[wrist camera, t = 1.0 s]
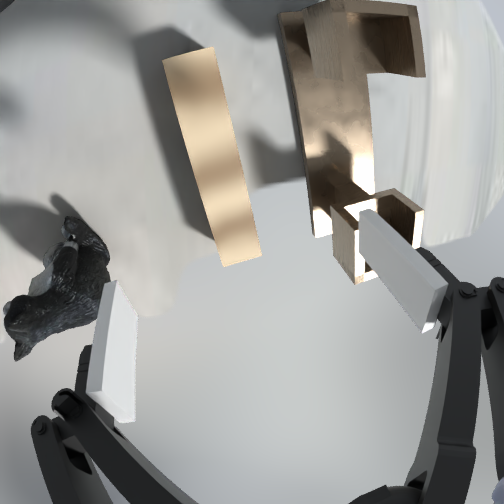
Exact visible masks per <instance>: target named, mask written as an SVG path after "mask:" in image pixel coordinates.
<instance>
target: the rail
mask: <svg viewBox="0 0 504 504" xmlns="http://www.w3.org/2000/svg"><path fill="white" fill-rule="evenodd" d="M162 62H163V66H164V70H165V74H166V77H167V81H168V85H169V88H170V92H171V96H172V99H173V103H174V106H175V110H176V114H177V117H178V121H179V124H180V128H181V131H182V135H183V138H184V141H185V145H186V148H187V152H188V155H189V158H190V162H191V165H192V169H193V172H194V175H195V179H196V182H197V185H198V188H199V192H200V195H201V198H202V201H203V205H204V208H205V211H206V214H207V218H208V221H209V224H210V227H211V230H212V233H213V237H214V240H215V243H216V246H217V249H218V252H219V255H220V258H221V261H222V265H223V267H226V266H229V265H232V264H235V263H239V262H242V261H246V260H249V259H252V258H256V257H259V256H262V253H261V248H260V244H259V239H258V236H257V231H256V227H255V222H254V217H253V213H252V209H251V204H250V200H249V196H248V191H247V187H246V182H245V178H244V174H243V170H242V165H241V161H240V157H239V152H238V148H237V144H236V139H235V135H234V131H233V127H232V122H231V118H230V114H229V110H228V105H227V101H226V97H225V93H224V89H223V84H222V80H221V76H220V72H219V68H218V64H217V59H216V55H215V51H214V47H209V48H205V49H200V50H196V51H192V52H189V53H185V54H181V55H178V56H174V57H171V58H167V59H164V60H162Z"/></svg>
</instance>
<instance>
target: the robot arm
mask: <svg viewBox="0 0 504 504" xmlns="http://www.w3.org/2000/svg"><path fill="white" fill-rule="evenodd" d="M13 1H14V0H0V12H1V11H2V10H4V9H5V8H6V7H7V6H9V5H10V4H11V3H12V2H13ZM358 252H359V254H360V255H361V256H362V257H363V258H364V260H365V261H366V262H367V263H368V265H369V266H370V267H371V268H372V269H373V271H374V272H375V273H376V274H377V276H378V277H379V278H380V279H381V281H382V282H383V283H384V284H385V286H386V287H387V288H388V289H389V291H390V292H391V293H392V295H393V296H394V297H395V299H396V300H397V301H398V302H399V304H400V305H401V306H402V308H403V309H404V310H405V312H406V313H407V314H408V316H409V317H410V318H411V320H412V321H413V322H414V324H415V325H416V326H417V328H418V329H419V331H420V332H421V333H424V332H426V331H428V330H430V329H431V328H434V326H435V323H436V321H437V319H438V320H439V321H440V323H441V327H440V329H439V332H438V334H437V337H436V339H438V338H439V342H438V351H437V359H436V366H435V373H434V379H433V385H432V390H431V396H430V401H429V406H428V411H427V415H426V420H425V424H424V428H423V432H422V436H421V440H420V444H419V447H418V451H417V455H416V458H415V461H414V463H413V465H412V467H411V469H410V471H409V473H408V476H407V478H406V481H405V484H404V486H393V487H387V486H386V485H384V486H382V487H380V488H377V489H375V490H373V491H371V492H368V493H366V494H364V495H361V496H359V497H358V498H356V499H355V500H353V501H352V502H350V503H349V504H464V503H465V500H466V496H467V493H468V489H469V485H470V481H471V477H472V473H473V468H474V464H475V459H476V448H475V447H474V446H473V436H474V430H475V423H476V416H477V408H478V398H479V386H480V371H481V369H480V368H481V353H482V357H483V362H484V367H485V372H486V378H487V384H488V390H489V396H490V404H491V411H492V420H493V430H494V444H495V460H496V469H497V476H498V480H499V482H498V484H497V485H496V488H495V490H494V491H493V493H492V499H493V500H494V504H504V278H501V277H496V278H493V279H492V280H491V283H490V286H488V287H481V288H476V287H475V286H474V285H472V284H471V283H468V282H460V281H459V280H458V279H456V277H455V276H454V275H453V274H452V273H451V272H450V271H449V270H448V269H447V268H446V267H445V266H444V265H443V264H441V262H440V261H439V260H438V259H436V257H435V256H434V255H433V254H432V253H431V252H430V251H428V250H426V249H424V248H422V247H419V248H416V249H414V248H413V247H412V246H411V245H410V244H409V243H408V242H407V241H406V240H405V239H404V238H403V237H402V236H401V235H400V234H399V233H398V232H397V231H395V230H394V229H393V228H392V227H391V226H390V225H389V224H388V223H387V222H386V221H385V220H384V219H382V218H381V217H380V216H379V215H378V214H377V213H376V212H375V211H374V210H372V209H371V208H368V209H364V210H360V211H359V233H358ZM137 325H138V315H137V313H136V312H135V310H134V308H133V307H132V305H131V303H130V302H129V300H128V298H127V297H126V295H125V293H124V291H123V290H122V288H121V286H120V284H119V283H118V281H117V280H115V281H112V282H108V283H105V284H104V288H103V293H102V297H101V302H100V307H99V312H98V317H97V322H96V327H95V332H94V338H93V344H92V345H87V346H85V347H84V349H83V351H82V352H81V354H80V359H79V366H78V370H77V372H78V373H77V377H76V384H75V391H72V390H71V389H68V388H65V389H61V390H60V391H58V392H57V393H56V395H55V396H54V397H53V400H52V410H53V412H54V413H56V414H57V415H58V417H56V418H54V419H52V420H51V419H49V418H48V417H47V416H44V415H41V416H38V417H37V418H36V419H35V420H34V421H33V423H32V426H31V435H32V439H33V443H34V447H35V451H36V454H37V457H38V461H39V465H40V468H41V471H42V474H43V477H44V480H45V483H46V486H47V489H48V491H49V494H50V496H51V499H52V502H53V504H113V502H112V501H111V499H110V497H109V495H108V493H107V491H106V489H105V488H104V485H103V484H102V481H101V479H100V477H99V475H98V473H97V471H96V469H95V467H94V465H93V462H92V460H91V458H92V459H93V461H94V462H95V463H96V464H97V466H98V467H99V468H100V469H101V471H102V472H103V473H104V474H105V476H106V477H107V478H108V479H109V480H110V482H111V483H112V484H113V485H114V486H115V487H116V488H117V490H118V491H119V492H120V493H121V494H122V495H123V496H124V497H125V498H126V500H127V501H128V502H129V503H130V504H198V503H197V502H196V501H194V500H193V499H192V498H190V497H189V496H188V495H187V494H186V493H184V492H183V491H182V490H181V489H180V488H178V487H177V486H176V485H175V484H174V483H173V482H172V481H170V480H169V479H168V478H167V477H166V476H165V475H163V473H161V472H160V471H159V470H158V469H157V468H156V467H155V466H154V465H153V464H152V463H151V462H150V461H149V460H148V459H147V458H145V456H144V455H143V454H142V453H141V452H140V451H138V449H136V447H135V446H134V445H133V444H132V443H131V442H130V441H129V440H128V439H127V438H126V437H125V436H124V435H123V434H122V433H121V432H120V431H119V429H118V428H117V427H115V426H114V418H115V419H116V420H117V421H119V422H120V423H127V422H134V421H135V373H136V372H135V371H136V343H137ZM90 457H91V458H90Z"/></svg>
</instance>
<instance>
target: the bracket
mask: <svg viewBox="0 0 504 504" xmlns="http://www.w3.org/2000/svg"><path fill="white" fill-rule="evenodd" d="M277 16H278V21H279V25H280V30H281V34H282V39H283V44H284V49H285V54H286V59H287V64H288V69H289V74H290V80H291V85H292V91H293V97H294V102H295V108H296V114H297V120H298V127H299V133H300V140H301V146H302V153H303V160H304V167H305V175H306V182H307V189H308V198H309V206H310V215H311V224H312V233H313V235H314V236H315V238H318V237H321V236H324V235H328V234H331V233H332V240H333V256H334V257H335V258H336V260H337V261H338V262H339V264H340V265H341V267H342V268H343V269H344V271H345V272H346V273H347V275H348V276H349V277H350V279H351V280H352V282H353V283H354V285H356V284H359V283H361V282H364V281H367V280H370V279H372V278H375V277H377V274H376V273H375V272H374V271H373V269H372V268H371V267H370V266H369V265H368V263H367V262H366V261H365V260H364V258H363V257H362V256H361V255H360V254H359V252H358V233H359V211H360V210H364V209H368V208H371V209H372V210H374V211H375V212H376V213H377V214H378V215H379V216H380V217H381V218H382V219H384V220H385V221H386V222H387V223H388V224H389V225H390V226H391V227H392V228H393V229H394V230H395V231H397V232H398V233H399V234H400V235H401V236H402V237H403V238H404V239H405V240H406V241H407V242H408V243H409V244H410V245H411V246H412V247H413V248H414V249H416V248H419V247H420V240H421V232H422V224H423V214H424V210H423V209H422V208H421V207H419V206H418V205H417V204H415V203H414V202H413V201H411V200H410V199H409V198H407V197H406V196H404V195H403V194H402V193H400V192H399V191H397V190H396V189H395V188H393V189H389V190H385V191H382V192H378V193H374V165H373V142H372V126H371V113H370V102H369V92H368V83H367V75H366V74H369V73H393V74H400V75H406V76H412V77H426V74H425V63H424V53H423V45H422V37H421V30H420V24H419V18H418V12H417V7H416V6H413V5H407V4H399V3H391V2H382V1H370V0H325V1H322V2H320V3H317V4H315V5H312V6H309V7H307V8H304V9H302V11H295V12H283V13H279V14H277Z"/></svg>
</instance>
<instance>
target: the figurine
mask: <svg viewBox="0 0 504 504" xmlns="http://www.w3.org/2000/svg"><path fill="white" fill-rule="evenodd" d="M61 231H62V234H63V236H64V238H67V240H66V242H65V243H58V244H56V245H54V246H52V247H51V248H50V249H49V250H48V251H47V252H46V254H45V255H44V258H43V265H44V267H45V270H44V271H43V272H42V273H40V274H39V275H37V276H36V277H34V278H33V279H32V281H31V284H30V287H29V293H28V295H20V296H16V297H15V298H14V299H13V300H12V301H9V302H7V303H6V305H5V306H4V308H3V312H4V314H5V318H4V326H5V329H6V331H7V333H8V334H9V335H10V337H11V338H12V339H14V340H15V342H16V344H15V352H14V360H15V361H18V360H20V359H21V358H23V357H25V356H26V355H28V354H29V353H30V352H31V350H32V348H33V347H34V346H35V345H36V344H37V343H38V342H40V341H42V340H44V339H46V338H47V337H48V336H50V335H51V334H54V333H60V332H62V331H65V330H67V329H71V328H75V327H79V326H84V325H87V324H90V323H91V322H92V321H94V320H96V319H97V317H98V312H99V307H100V302H101V297H102V293H103V288H104V284H105V283H108V282H111V280H110V275H109V272H108V271H107V268H106V266H107V265H108V263H109V261H110V255H109V251H108V249H107V246H106V244H105V243H104V242H103V241H102V240H101V239H100V238H99V237H98V236H97V235H95V234H94V233H93V232H92V231H91V230H90V229H89V228H88V227H87V226H86V224H84V223H83V222H82V221H80V220H79V219H76V218H73V217H68V216H67V217H66V218H65V222H64V225H63V226H62V230H61Z"/></svg>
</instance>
